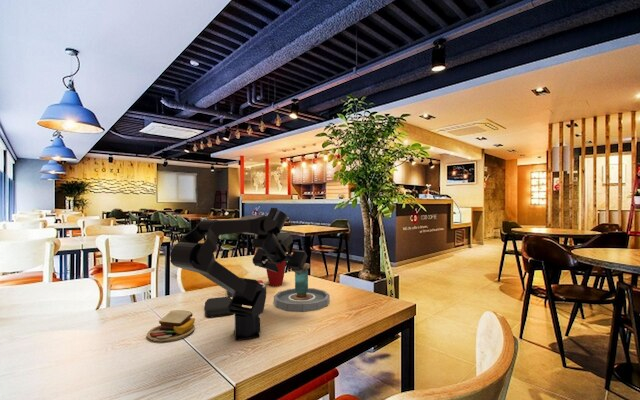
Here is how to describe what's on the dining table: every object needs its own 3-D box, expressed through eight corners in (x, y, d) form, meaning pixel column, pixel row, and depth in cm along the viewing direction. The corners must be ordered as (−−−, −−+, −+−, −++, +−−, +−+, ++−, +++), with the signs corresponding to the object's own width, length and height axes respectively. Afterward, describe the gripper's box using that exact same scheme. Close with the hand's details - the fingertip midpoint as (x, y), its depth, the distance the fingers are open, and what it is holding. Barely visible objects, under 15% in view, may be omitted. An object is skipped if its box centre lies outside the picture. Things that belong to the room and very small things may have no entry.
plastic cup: (261, 283, 148) (261, 256, 148) (284, 281, 151) (284, 255, 151) (264, 289, 137) (264, 261, 137) (289, 287, 141) (289, 259, 141)
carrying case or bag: (239, 315, 107) (235, 302, 121) (239, 306, 107) (234, 294, 121) (205, 320, 104) (204, 306, 117) (205, 310, 104) (204, 297, 117)
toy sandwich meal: (136, 340, 89) (135, 323, 89) (172, 322, 101) (172, 307, 101) (173, 346, 85) (173, 328, 85) (205, 327, 98) (205, 311, 98)
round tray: (281, 314, 107) (280, 306, 107) (270, 297, 126) (270, 290, 126) (336, 307, 114) (336, 300, 114) (318, 292, 132) (318, 286, 132)
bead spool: (301, 303, 115) (301, 266, 116) (290, 299, 119) (290, 264, 120) (313, 299, 120) (312, 264, 120) (301, 296, 124) (301, 262, 124)
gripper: (304, 226, 103) (320, 255, 113) (257, 224, 111) (275, 251, 121) (292, 255, 96) (309, 283, 106) (242, 251, 104) (263, 277, 114)
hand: (288, 272), depth 112 cm, fingers open, 9 cm apart
